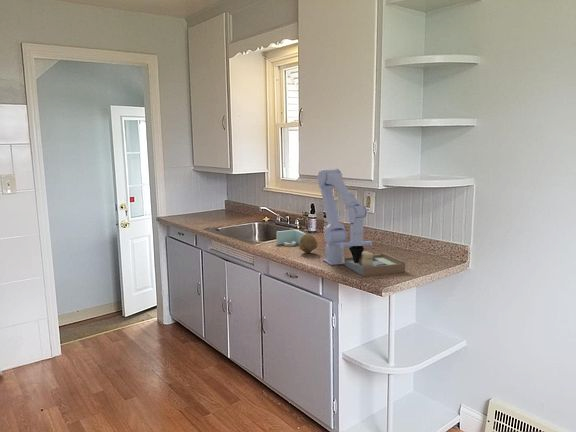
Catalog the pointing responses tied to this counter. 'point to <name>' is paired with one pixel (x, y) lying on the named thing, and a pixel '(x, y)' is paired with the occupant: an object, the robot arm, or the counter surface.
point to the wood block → (366, 258)
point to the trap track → (377, 265)
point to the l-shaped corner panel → (289, 237)
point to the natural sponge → (308, 243)
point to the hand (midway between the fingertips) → (356, 262)
